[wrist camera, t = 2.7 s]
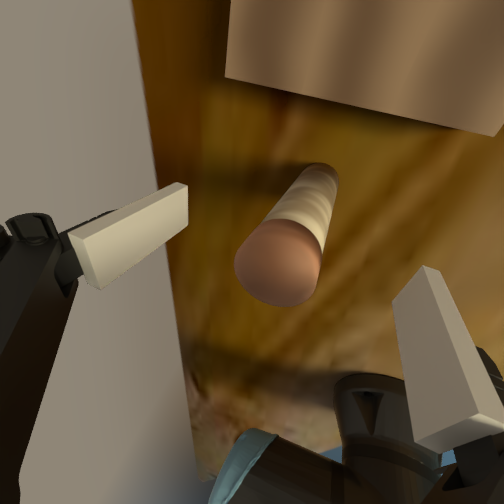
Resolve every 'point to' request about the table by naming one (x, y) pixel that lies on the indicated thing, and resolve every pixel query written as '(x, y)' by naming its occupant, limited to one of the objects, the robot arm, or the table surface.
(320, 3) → the square peg hole block
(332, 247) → the table surface
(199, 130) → the table surface
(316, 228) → the dowel
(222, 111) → the table surface
